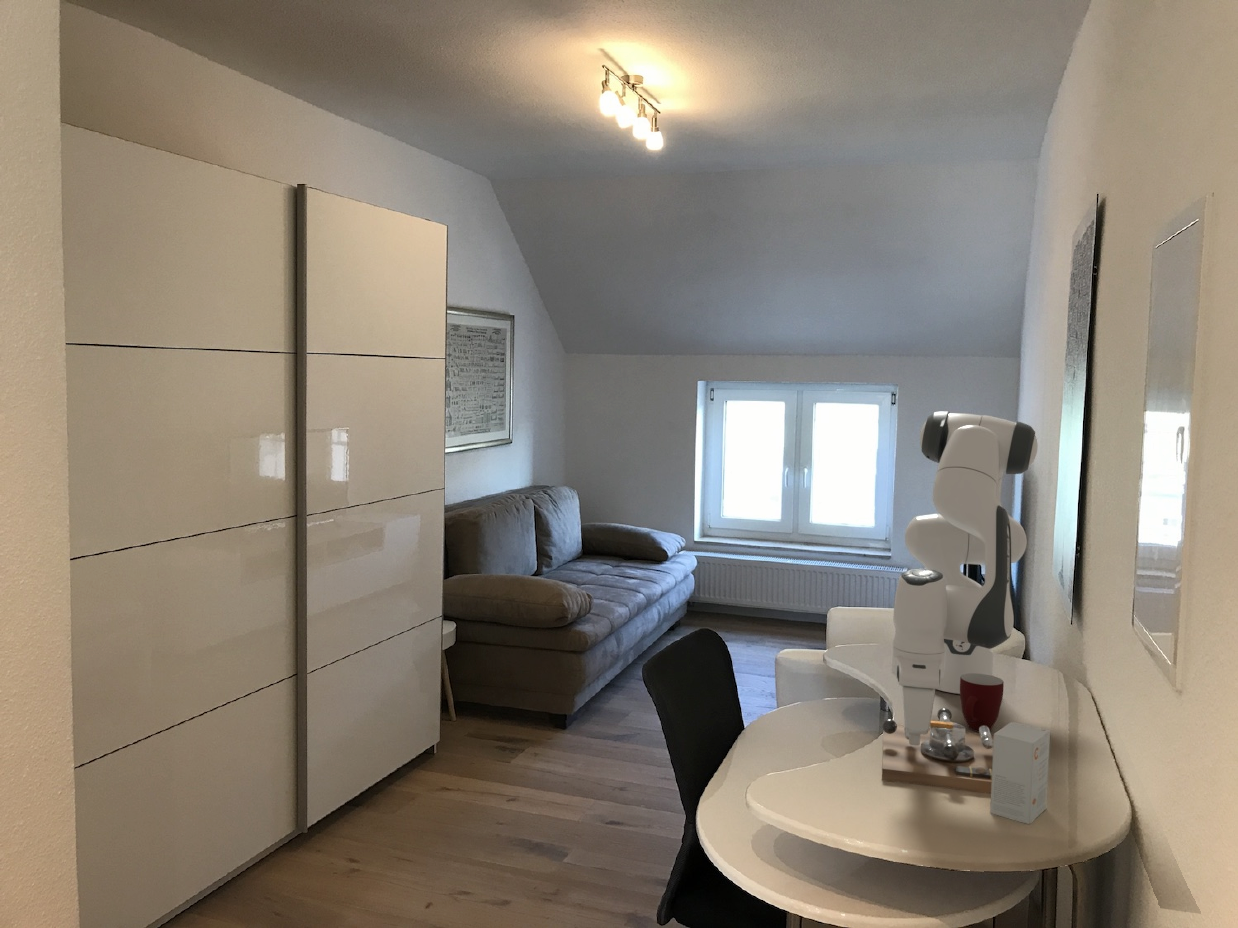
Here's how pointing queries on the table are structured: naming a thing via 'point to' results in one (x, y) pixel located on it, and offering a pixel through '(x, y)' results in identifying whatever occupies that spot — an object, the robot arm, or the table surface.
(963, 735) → the capstan
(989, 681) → the mug
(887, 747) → the cutting board
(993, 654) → the robot arm
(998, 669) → the table surface
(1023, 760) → the small box
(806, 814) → the table surface
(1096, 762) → the table surface
